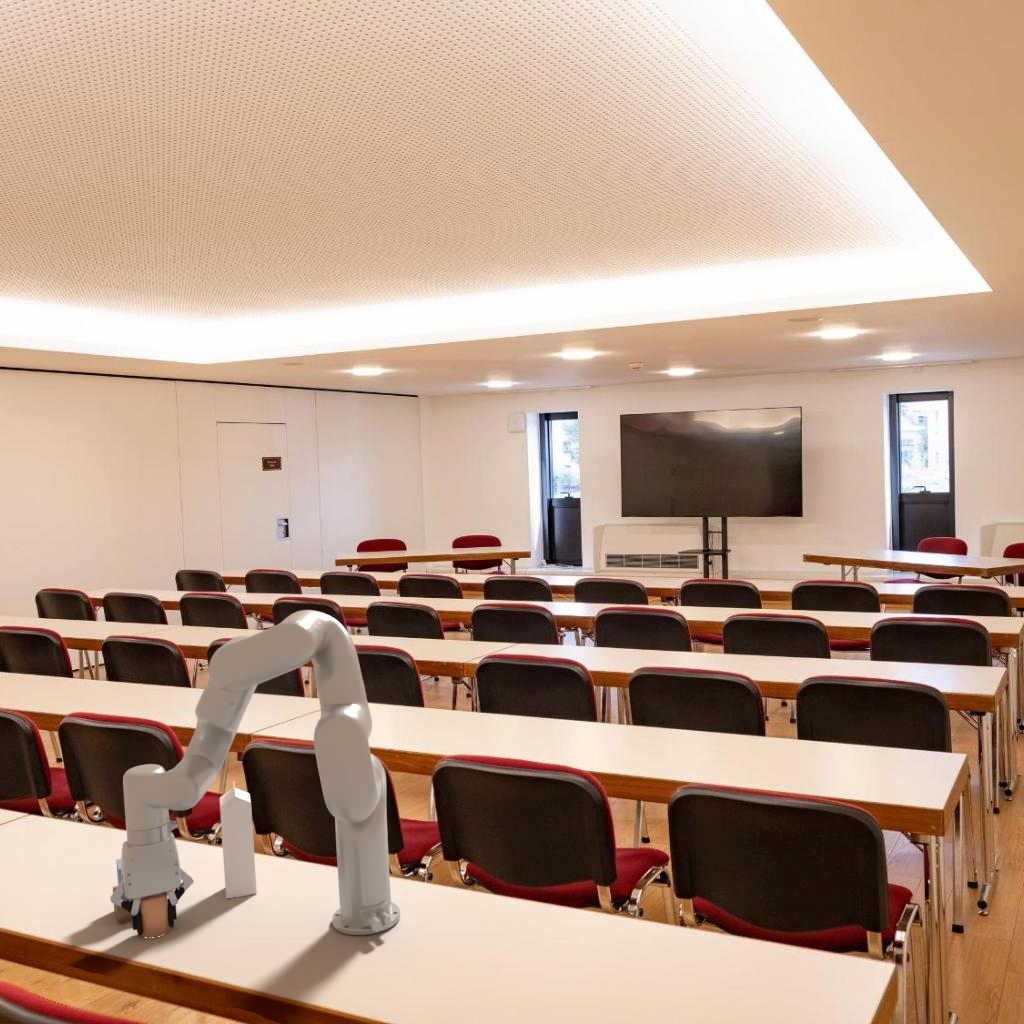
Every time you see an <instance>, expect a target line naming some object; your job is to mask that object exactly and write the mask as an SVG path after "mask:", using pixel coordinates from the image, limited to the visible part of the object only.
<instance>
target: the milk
mask: <svg viewBox="0 0 1024 1024" xmlns="http://www.w3.org/2000/svg"><path fill="white" fill-rule="evenodd" d="M219 811H220V812H219V813H220V823H221V825H220V826H221V827H220V828H221V839H222V840H221V841H222V854H223V855H222V857H223V869H224V871H223V872H224V885H225V887H224V888H225V898H226V900H229V899H228V898H230V899H234V898H233V897H236V898H240V897H245V896H246V895H247V896H252V895H251V894H253V895H257V894H258V890H257V876H256V873H257V872H256V862H255V860H256V859H255V846H254V845H255V843H254V831H253V829H254V828H253V816H252V812H253V811H252V802H251V794H250V793H249V792H247V791H244V790H241V789H239V788H237V787H235V780H233V787H232V788H231V789H229V790H228V791H227V792H225V793H224V794H223V795H221V796H220V797H219Z"/></svg>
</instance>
